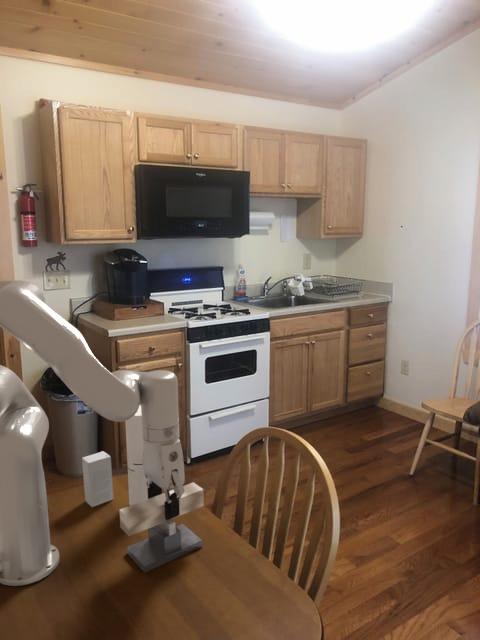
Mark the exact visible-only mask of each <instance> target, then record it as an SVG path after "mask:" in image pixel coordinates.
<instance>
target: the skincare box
mask: <svg viewBox="0 0 480 640" xmlns="http://www.w3.org/2000/svg"><path fill="white" fill-rule="evenodd" d="M81 464H82V475H83V487H84V500H85V502H86V503H87V504H88V506H90V507H91V508H95V507H97V506H99V505H102V504H105V503H108V502H110V501H113V500H114V487H113V473H112V457H111V455H110V454H108V453H107V452H105V451H103V450H101V451H100V452H99V451H98V452H96V453H93V454H89V455H87V456H82V458H81Z"/></svg>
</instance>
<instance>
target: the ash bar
mask: <svg viewBox="0 0 480 640" xmlns="http://www.w3.org/2000/svg"><path fill="white" fill-rule="evenodd" d="M183 487H184V490H185V492H184V493H183V495H182V496H181V498H180V499H179V512H180V514H179V516H177V517H174V518H172V520H173V519H176V518H178V517H180V516H183V515H185V514H188V513H190V512H192V511H194V510H195V511H196V510H197V509H199V508H202V507H204V506H205V505H204V503H205V502H204V488H202V487H201V486H199V484H196V483H195V482H194V481H192V482H190V483H188V484H185V485H183ZM169 493H170V495H171V494H172V493H174V489H170V490H169ZM165 501H166V497H165V493H164V492H162V494H160V495H158V496H155V497H152V498H150V499H147V500H144V501H141V502H139V503H136V504H133V505H131V506H130V505H129V506H126V507H123V508H120V509H119V523H120V524H119V527H120V529H121V530H122V531H124V533H125V534H126V535H127V536H128V537H131V536H133V535H136V534H138V533H141V532H144V531H146V530H148V529H149V528H151V527H154V526H156V525H158V524H161V523H163V522H166V521H168V520H166V519H165V505H164V502H165ZM169 520H171V519H169Z"/></svg>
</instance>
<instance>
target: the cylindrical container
mask: <svg viewBox="0 0 480 640" xmlns="http://www.w3.org/2000/svg"><path fill="white" fill-rule="evenodd" d="M124 424H125V440H126V441H125V442H126V460H127V461H126V462H127V476H128V477H127V480H128V500H129V501H128V502H129V506H131V505H133V504H136V503H139V502H141V501H144V500H147V499H148V490H147V488H148V487H147V485H146V481H147V478H146V476H145V473H144V469H143V465H142V463H143V436H142V413H141V405H139V408H138V411H137V412H136V414H135V415H134V416H133V417H132V418H130V419H129V420H126V421H124Z"/></svg>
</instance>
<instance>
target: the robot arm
mask: <svg viewBox="0 0 480 640" xmlns="http://www.w3.org/2000/svg"><path fill="white" fill-rule="evenodd" d="M45 299H46V298H45V295H44V293H43V291H42V289H40V288H39V287H38V286H37V285H36V284H34V283H33V282H30V281H26V280H0V328H1V329H2V330H4V331H6V333H8V334H9V335H10V336H11V337H13V338H14V339H16V340H17V341H18V342H20V343H21V344H23V346H24V347H26V348H27V349H29V350H30V351H31V352H32V353H34V354H35V355H36V356H37V357H39V358H40V359H42V360H43V361H44V362H45V363H46V364H47V365H49V366H50V368H51V369H52V370H53V372H54V373H55V374H56V375H57V377H58V378H60V380H61V381H62V382H63V383H64V384H65V386H67V388H68V389H69V390H70V391H71V392H72V393H73V394H74V395H75V396H76V397H77V398H78V399H79V400H80V401H82V402H83V403H84V404H85V405H86V406H87V407H89V408H90V409H92V410H93V411H95V412H96V413H97V414H98V415H100V416H101V417H103V418H105V419H107V420H108V421H112V422H118V423H122V422H125V421H126V420H129V419H130V418H132V417H133V416H134V415H135V414H136V412H137V411H138V408H139V405H141V413H142V436H143V463H142V465H143V469H144V473H145V476H146V478H147V481H146V485H147V487H148V488H147V490H148V499H150V498H152V497H155V496H158V495H160V494H163V493H165V497H166V501H165V502H164V505H165V519H166V520H169V519H172V518H173V519H175V518H174V517H176V518H178V517H180V516H179V514H180V512H179V499H180V498H181V496H182V495H183V493H184V492H185V490H184V487H183V486H184V484H185V482H186V481H185V479H186V477H185V464H184V463H185V461H184V455H183V454H184V453H183V449H182V444H181V440H180V439H179V438H180V417H179V415H180V414H179V412H180V411H179V382H178V381H179V380H178V377H177V375H176V373H174V372H172V371H169V370H164V369H163V370H151V371H148V372H147V371H138V370H127V369H126V370H125V369H119V370H115V371H112V372H111V371H110V370H109V369H107V368H106V367H105V366H104V365H103V364H102V363H101V362H100V361H99V360H98V359H97V358H96V356H95V355H94V353H93V352H92V350H91V349H90V347H89V345H88V343H87V341H86V339H85V337H84V335H83V334H82V332H81V331H80V329H78V328H77V327H76V326H74V325H73V324H72V323H70V322H69V321H68V320H66V319H65V318H64V317H63V316H62V315H61V314H59V313H58V312H57V311H56V310H54V309H53V308H52V307H50V305H48V304H47V303H45V302H46V300H45ZM49 424H50V423H49V418H48V416H47V414H46V412H45V410H44V409H43V407H42V406H41V405H40V404H39V402H38V400H37V399H36V398H35V396H33V394H32V393H31V391H30V390H29V389H28V387H26V385H25V383H24V382H23V381H22V379H21V378H20V377H19V376H18V375H17V374H16V373H15V372H14V371H13V370H12V369H10V368H8V367H6V366H4V365H1V364H0V584H2V585H6V586H10V587H12V586H13V587H17V586H26V585H30V584H34V583H35V582H39V581H41V580H42V579H43V578H46V577H47V576H49V575H50V574H51V573H52V572H53V571H55V570H56V568H57V567H58V565H59V563H60V551H59V550H58V548H57V547H56V546H54V545H53V544H51V535H50V534H51V533H50V522H49V510H48V498H47V487H46V486H47V485H46V479H45V471H44V467H43V461H42V450H43V447H44V444H45V442H46V439H47V437H48V433H49V428H50V425H49ZM171 483H172V484H171ZM170 484H171V485H170ZM171 490H174V493H172V494H171V495H170V493H169V491H171ZM177 516H178V517H177ZM173 519H172V520H173Z"/></svg>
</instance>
